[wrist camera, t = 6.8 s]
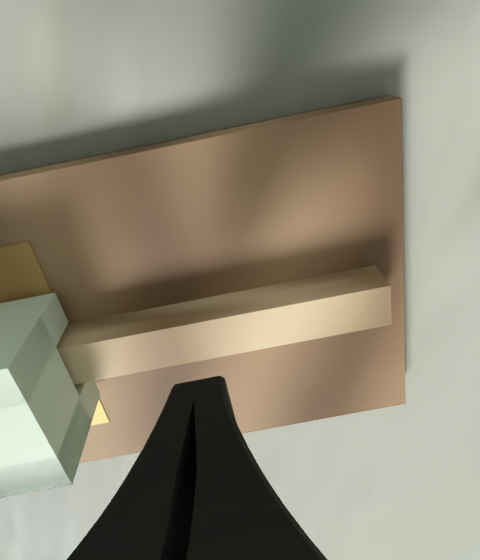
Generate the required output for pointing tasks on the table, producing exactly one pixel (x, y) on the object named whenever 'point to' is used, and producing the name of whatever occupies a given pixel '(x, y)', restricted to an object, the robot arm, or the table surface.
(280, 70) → the table surface
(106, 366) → the track board
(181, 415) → the robot arm
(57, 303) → the block
